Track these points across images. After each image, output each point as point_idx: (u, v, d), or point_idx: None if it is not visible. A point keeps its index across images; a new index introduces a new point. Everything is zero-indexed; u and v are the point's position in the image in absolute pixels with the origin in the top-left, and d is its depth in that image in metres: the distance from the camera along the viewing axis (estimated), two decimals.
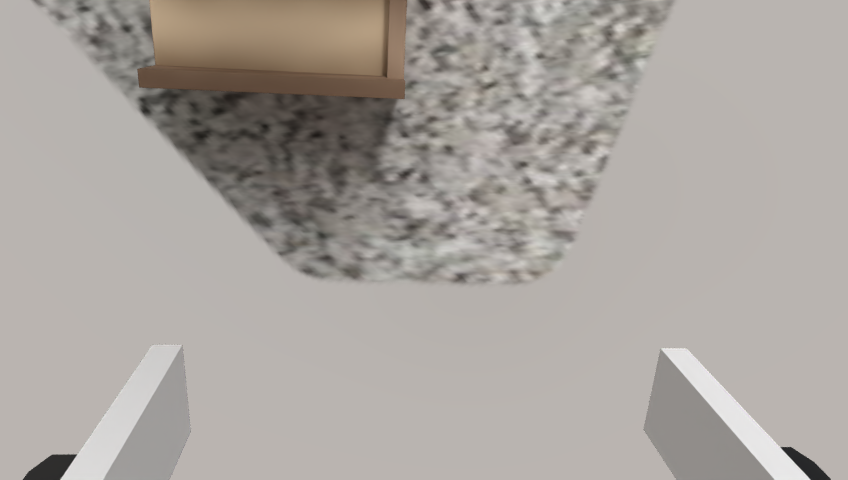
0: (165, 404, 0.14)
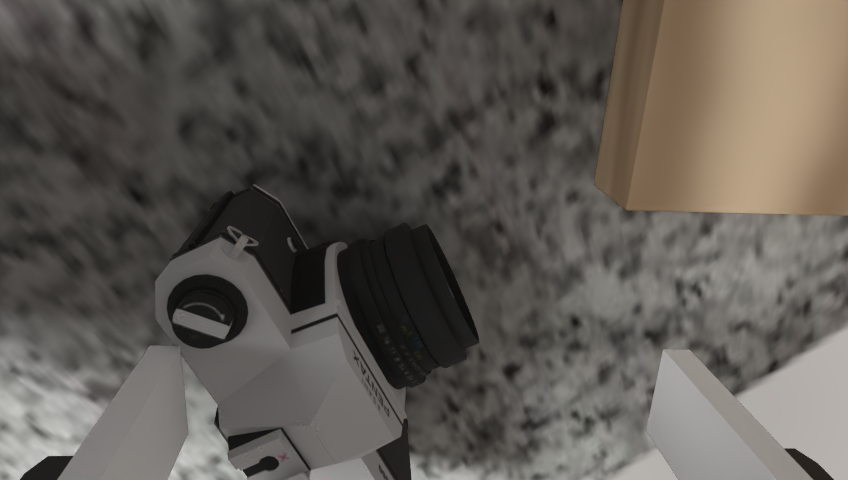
0: (162, 405, 0.14)
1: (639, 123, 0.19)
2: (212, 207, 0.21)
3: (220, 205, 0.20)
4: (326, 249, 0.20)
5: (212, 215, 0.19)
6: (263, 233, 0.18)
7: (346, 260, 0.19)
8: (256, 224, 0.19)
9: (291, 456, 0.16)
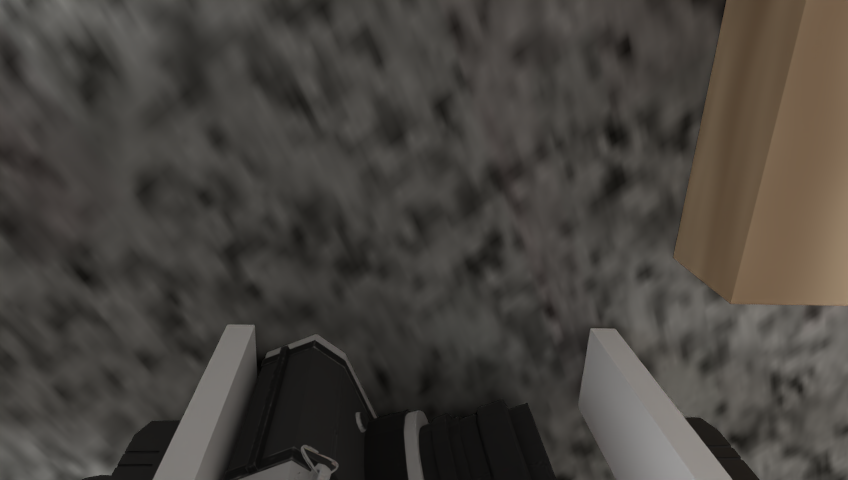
0: (245, 378, 0.16)
1: (754, 191, 0.14)
2: (263, 366, 0.17)
3: (278, 377, 0.15)
4: (404, 432, 0.16)
5: (271, 400, 0.15)
6: (336, 430, 0.14)
7: (433, 459, 0.15)
8: (326, 414, 0.15)
9: None
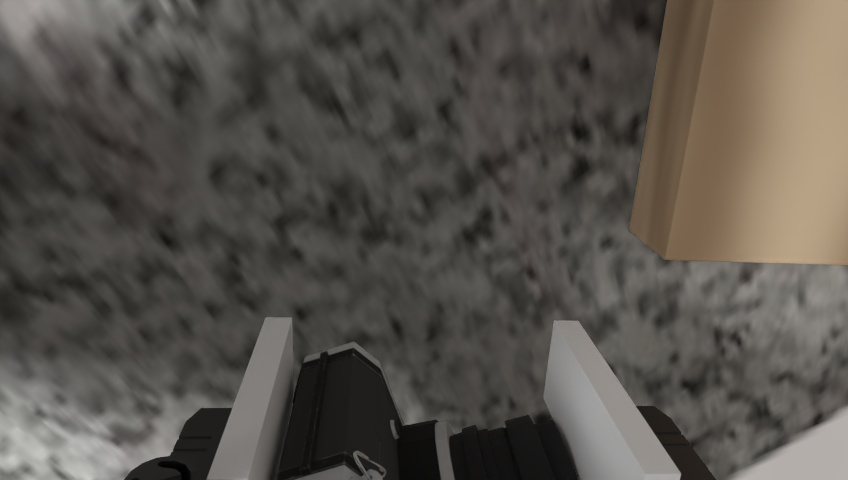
0: (285, 368, 0.16)
1: (678, 171, 0.18)
2: (303, 370, 0.17)
3: (321, 382, 0.16)
4: (435, 442, 0.17)
5: (317, 404, 0.15)
6: (378, 437, 0.15)
7: (466, 469, 0.16)
8: (369, 421, 0.15)
9: None
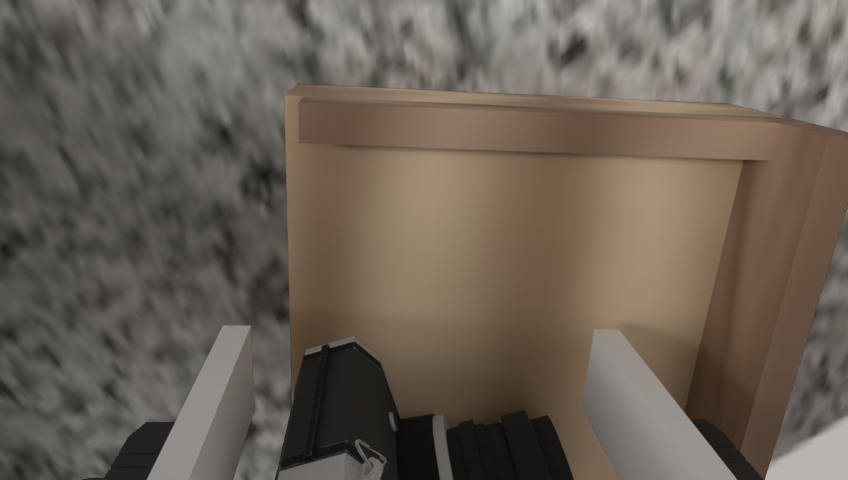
0: (240, 379, 0.16)
1: None
2: (304, 362, 0.18)
3: (323, 374, 0.16)
4: (433, 434, 0.17)
5: (319, 395, 0.16)
6: (378, 427, 0.15)
7: (462, 461, 0.16)
8: (369, 412, 0.16)
9: None
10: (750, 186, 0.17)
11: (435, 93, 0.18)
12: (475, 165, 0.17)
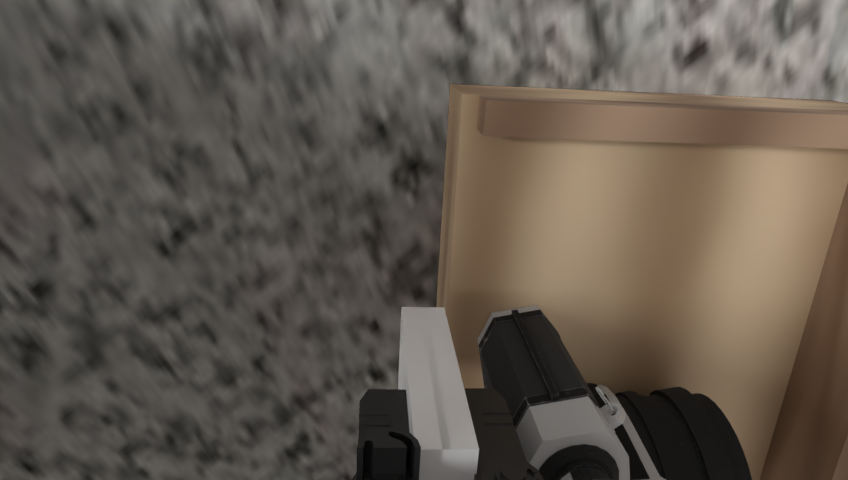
0: None
1: None
2: (498, 323, 0.20)
3: (528, 333, 0.19)
4: (607, 398, 0.20)
5: (535, 349, 0.18)
6: (586, 383, 0.18)
7: (641, 422, 0.19)
8: (576, 369, 0.18)
9: None
10: None
11: (577, 92, 0.20)
12: (622, 156, 0.19)
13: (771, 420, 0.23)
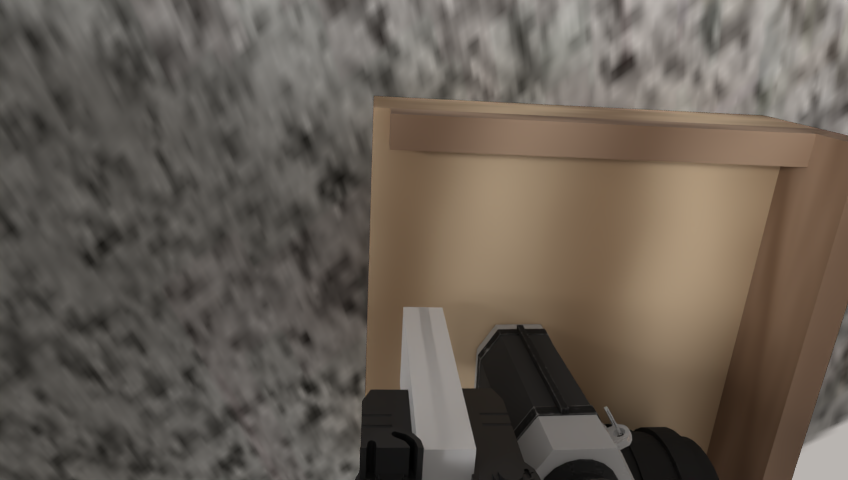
0: None
1: None
2: (502, 335, 0.20)
3: (535, 348, 0.19)
4: None
5: (543, 364, 0.18)
6: None
7: (630, 454, 0.19)
8: None
9: None
10: (787, 190, 0.19)
11: (500, 105, 0.20)
12: (539, 170, 0.19)
13: (704, 438, 0.23)
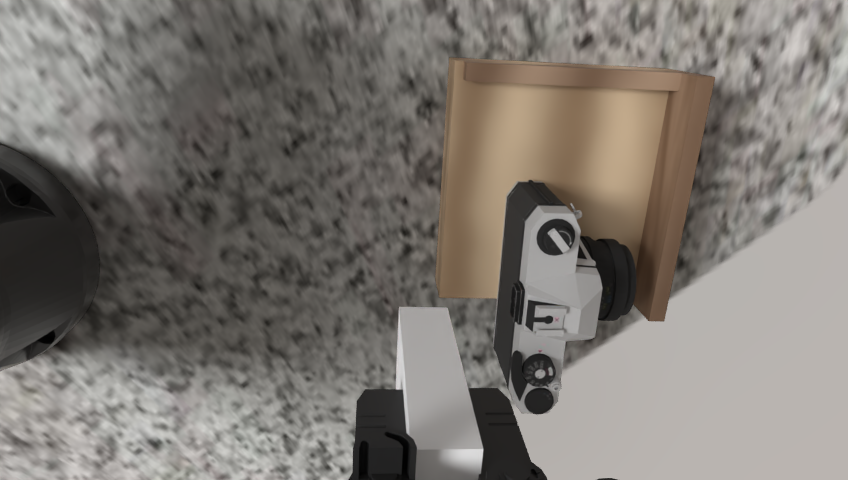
0: None
1: (441, 257, 0.39)
2: (521, 184, 0.37)
3: (537, 186, 0.36)
4: None
5: (541, 191, 0.35)
6: None
7: (586, 243, 0.36)
8: None
9: (560, 321, 0.32)
10: (671, 105, 0.36)
11: (518, 61, 0.37)
12: (540, 94, 0.36)
13: (635, 254, 0.40)
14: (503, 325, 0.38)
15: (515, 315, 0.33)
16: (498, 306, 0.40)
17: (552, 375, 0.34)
